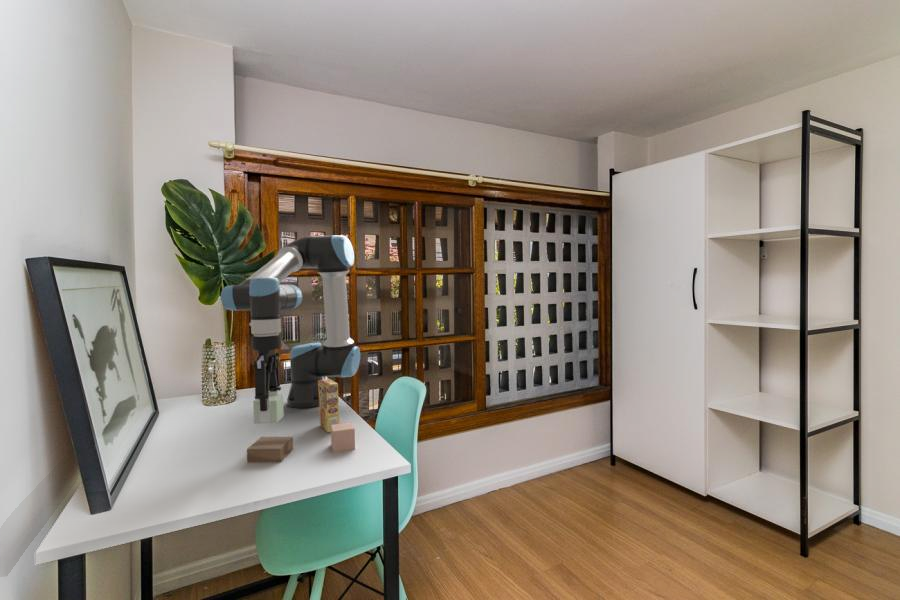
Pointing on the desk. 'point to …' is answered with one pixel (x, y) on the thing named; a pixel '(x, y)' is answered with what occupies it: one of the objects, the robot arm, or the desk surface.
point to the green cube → (271, 408)
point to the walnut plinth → (269, 449)
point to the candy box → (328, 403)
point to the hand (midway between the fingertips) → (269, 418)
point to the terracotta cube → (342, 437)
